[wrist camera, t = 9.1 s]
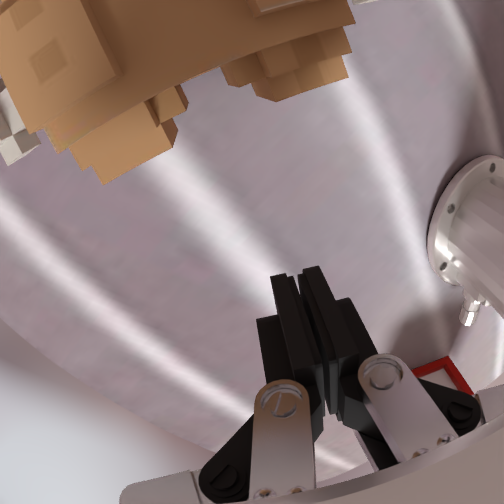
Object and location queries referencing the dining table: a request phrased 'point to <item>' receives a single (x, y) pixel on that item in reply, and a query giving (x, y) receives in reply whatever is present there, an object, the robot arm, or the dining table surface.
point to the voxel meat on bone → (149, 67)
